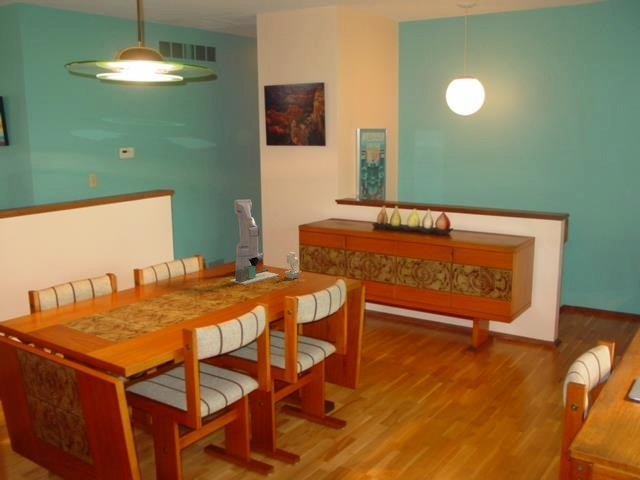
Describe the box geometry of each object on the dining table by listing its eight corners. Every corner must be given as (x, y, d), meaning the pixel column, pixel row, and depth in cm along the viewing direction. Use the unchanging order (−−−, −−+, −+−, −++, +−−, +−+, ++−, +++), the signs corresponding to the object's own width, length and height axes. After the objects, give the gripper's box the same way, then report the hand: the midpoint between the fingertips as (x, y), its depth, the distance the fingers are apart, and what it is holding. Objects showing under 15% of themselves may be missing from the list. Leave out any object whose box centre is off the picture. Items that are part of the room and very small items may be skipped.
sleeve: (244, 277, 368) (243, 266, 367) (250, 275, 372) (250, 265, 370) (249, 278, 365) (249, 267, 364) (255, 277, 369) (255, 266, 368)
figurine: (302, 276, 376) (302, 251, 373) (293, 280, 368) (292, 254, 365) (292, 275, 380) (292, 250, 377) (283, 278, 372) (282, 253, 369)
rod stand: (230, 281, 365) (229, 269, 364) (265, 272, 386) (265, 261, 385) (244, 284, 357) (244, 273, 356) (279, 275, 378) (279, 264, 377)
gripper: (248, 250, 360) (249, 273, 362) (267, 246, 370) (267, 269, 373) (240, 248, 364) (241, 271, 367) (258, 245, 375) (259, 267, 377)
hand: (253, 270), depth 370 cm, fingers closed
